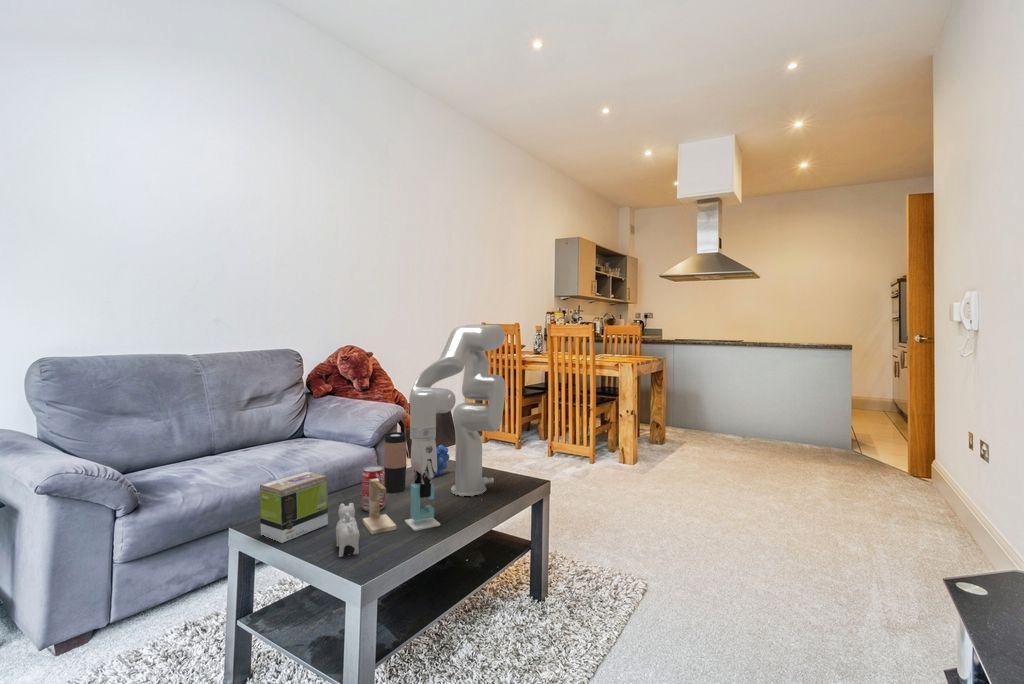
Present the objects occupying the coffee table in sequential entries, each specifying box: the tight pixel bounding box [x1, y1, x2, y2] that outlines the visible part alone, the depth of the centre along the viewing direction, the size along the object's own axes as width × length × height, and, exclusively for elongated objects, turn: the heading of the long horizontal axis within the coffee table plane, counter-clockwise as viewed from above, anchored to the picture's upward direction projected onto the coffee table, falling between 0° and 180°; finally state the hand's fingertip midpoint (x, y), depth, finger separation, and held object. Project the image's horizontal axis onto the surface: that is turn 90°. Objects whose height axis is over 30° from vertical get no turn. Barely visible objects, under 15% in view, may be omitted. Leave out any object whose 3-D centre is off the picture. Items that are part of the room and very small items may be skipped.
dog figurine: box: [335, 502, 361, 558], centre depth 127 cm, size 5×13×11 cm, turn 26°
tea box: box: [259, 470, 329, 544], centre depth 137 cm, size 15×10×15 cm, turn 149°
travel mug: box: [383, 431, 407, 494], centre depth 174 cm, size 8×8×20 cm
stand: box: [362, 478, 397, 535], centre depth 141 cm, size 7×11×12 cm, turn 32°
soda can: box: [361, 465, 386, 513], centre depth 155 cm, size 7×7×13 cm
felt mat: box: [404, 517, 441, 532], centre depth 144 cm, size 8×8×1 cm
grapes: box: [433, 444, 450, 477], centre depth 193 cm, size 12×7×12 cm, turn 145°
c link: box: [409, 482, 435, 521], centre depth 143 cm, size 6×4×10 cm, turn 122°
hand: (422, 494), depth 143 cm, fingers closed on c link, 3 cm apart
